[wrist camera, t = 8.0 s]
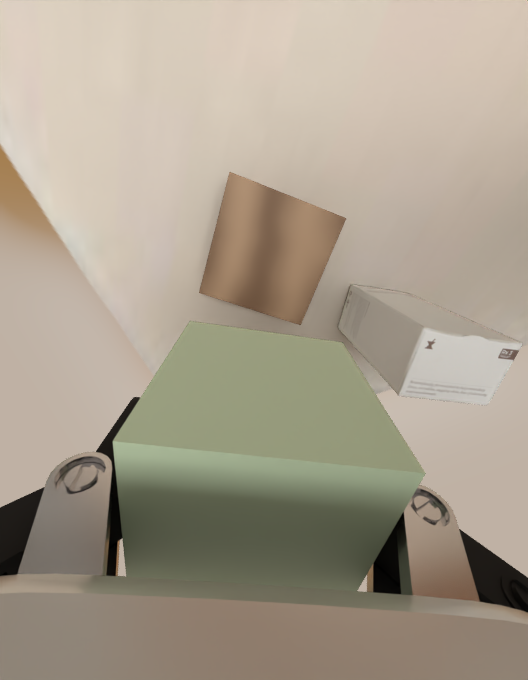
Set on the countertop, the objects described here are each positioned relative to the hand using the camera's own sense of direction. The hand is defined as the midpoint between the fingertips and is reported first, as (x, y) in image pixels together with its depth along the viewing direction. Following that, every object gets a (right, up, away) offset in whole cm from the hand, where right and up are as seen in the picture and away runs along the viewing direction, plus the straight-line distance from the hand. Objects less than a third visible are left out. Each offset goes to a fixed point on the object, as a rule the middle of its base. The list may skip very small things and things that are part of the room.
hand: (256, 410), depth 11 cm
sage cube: (0, 0, +1) cm, 1 cm away
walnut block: (+1, +13, +20) cm, 24 cm away
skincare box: (+14, +7, +23) cm, 28 cm away
